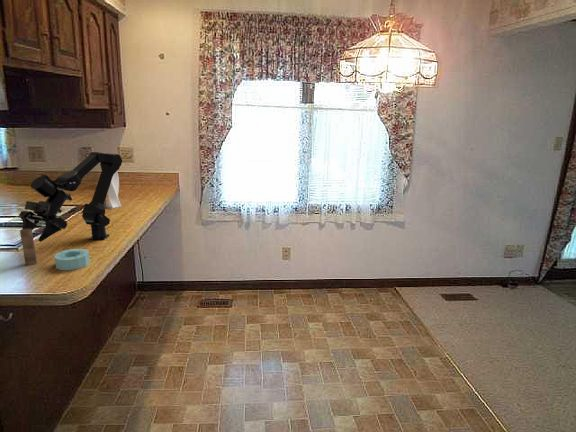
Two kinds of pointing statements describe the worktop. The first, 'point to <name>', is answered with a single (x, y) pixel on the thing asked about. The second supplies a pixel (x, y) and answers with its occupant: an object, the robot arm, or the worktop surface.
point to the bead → (72, 259)
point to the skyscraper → (113, 193)
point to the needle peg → (28, 246)
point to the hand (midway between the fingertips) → (30, 239)
